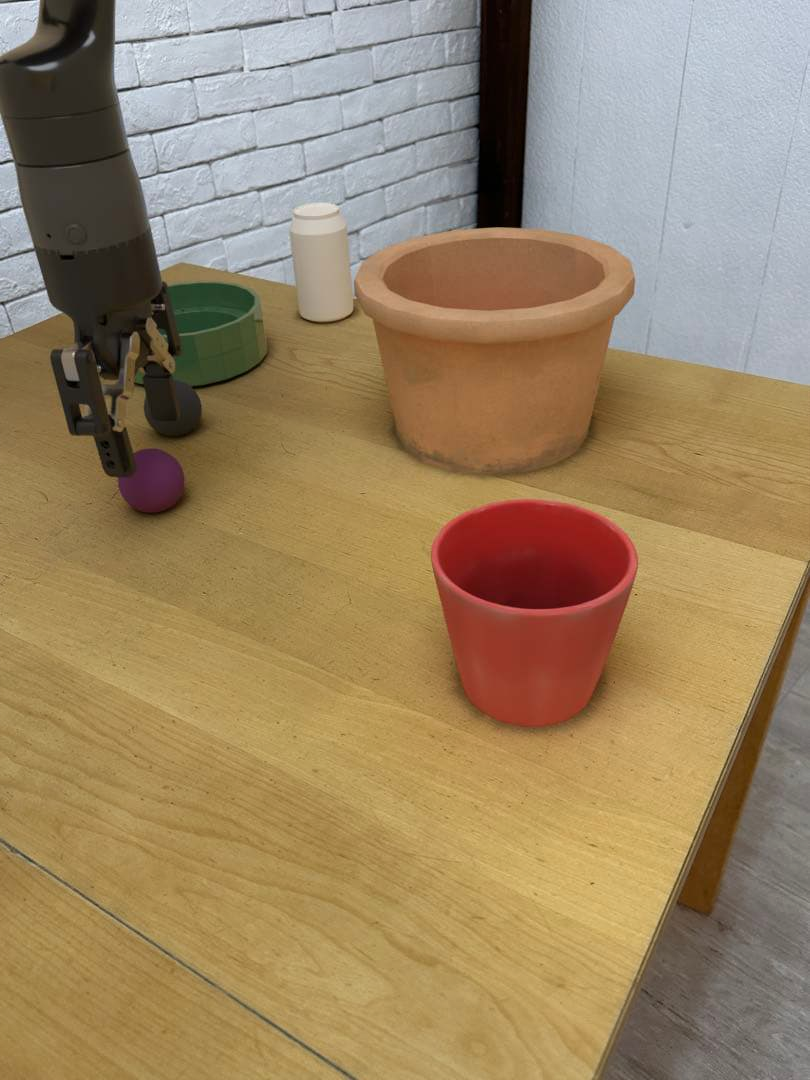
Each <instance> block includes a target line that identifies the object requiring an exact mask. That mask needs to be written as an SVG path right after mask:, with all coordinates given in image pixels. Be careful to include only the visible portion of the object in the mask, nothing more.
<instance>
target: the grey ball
mask: <svg viewBox="0 0 810 1080" xmlns="http://www.w3.org/2000/svg"><path fill="white" fill-rule="evenodd" d="M173 381H174V385H175V390H176V394H177V399H178V403H179V408H180V416H179V417H178V418H177V419H176V420H175V421H157V420H154V419H153V418H152V416H151V413H150V409H149V405H148V401H147V397H146V396H145V398H144V400H143V401H144V402H143V413H144V417H145V419H146V421H147V423H148V425H149V426H150V427H151V428H152V429H153V430H154V431H155V432H157V433H159V434H160V435H163V436H166V437H171V438H172V437H173V438H174V437H182V436H184V435H187V434H189V433H190V432H192V431H193V430H194V429H195V428H196V427H197V425H198V424H199V422H200V420H201V417H202V413H203V406H202V401H201V398H200V396H199V394H198V393H197V391H196V390H195V388H193V386H189V385H188V384H186V383H184V382H182V381H178V380H173Z"/></svg>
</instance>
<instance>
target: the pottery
mask: <svg viewBox="0 0 810 1080" xmlns="http://www.w3.org/2000/svg"><path fill="white" fill-rule="evenodd" d="M635 286H636V278H635V272H634V269H633V266H632V262H631V259H629V258H628V257H627V256H625V255H624V254H622V253H621V252H620V251H618V250H617V249H615V248H614V247H612V246H611V245H608V244H606V243H604V242H603V243H602V242H600V241H597V240H594V239H590V238H588V237H585V236H581V235H578V234H574V233H567V232H561V231H554V230H547V229H541V228H522V227H497V226H495V227H483V228H482V227H481V228H480V227H479V228H468V229H466V228H465V229H454V230H448V231H443V232H438V233H432V234H426V235H421V236H416V237H413V238H410V239H407V240H404V241H402V242H401V241H400V242H398V243H395V244H392V245H390V246H386V247H384V248H382V249H381V250H378V252H376V253H374V254H373V255H371V256H369V257H368V258H366V259H365V260H363V261H362V262H361V264H360V266H359V267H358V271H357V273H356V275H355V277H354V279H353V290H354V296H355V298H356V300H357V303H358V304H359V305H360V308H361V309H362V311H363V313H364V315H365V316H367V317H369V318H370V319H372V323H373V326H374V332H375V336H376V341H377V346H378V349H379V356H380V360H381V365H382V369H383V374H384V377H385V383H386V387H387V392H388V393H387V394H388V397H389V402H390V406H391V412H392V416H393V421H394V425H395V434H396V436H397V437H398V439H399V442H400V444H401V445H402V446H401V447H402V448H403V449H404V450H405V451H407V452H408V453H410V454H411V455H413V456H414V457H415V458H417V459H418V460H419V461H421V462H422V463H425V464H428V465H431V466H434V467H437V468H440V469H444V470H446V471H449V472H452V473H462V474H468V475H469V474H471V475H478V476H479V475H480V476H487V477H489V476H501V475H514V474H516V475H517V474H525V473H528V472H529V473H530V472H532V471H536V470H539V469H543V468H547V467H550V466H555V465H556V464H558V463H560V462H561V461H563V460H564V459H567V458H568V457H570V456H572V455H573V454H575V453H576V452H578V451H579V449H580V448H581V446H582V445H583V443H584V442H585V440H586V439H587V437H589V428H590V424H591V420H592V416H593V411H594V407H595V403H596V399H597V395H598V390H599V386H600V382H601V378H602V374H603V370H604V369H603V368H604V365H605V361H606V356H607V352H608V348H609V343H610V341H611V340H610V339H611V335H612V331H613V327H614V323H615V319H616V316H618V315H620V313H621V312H622V311H623V310H624V308H625V307H626V305H627V304H628V303H629V302H630V300H631V299H632V298H633V296H634V294H635Z"/></svg>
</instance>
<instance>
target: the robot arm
mask: <svg viewBox="0 0 810 1080" xmlns="http://www.w3.org/2000/svg"><path fill="white" fill-rule="evenodd" d="M7 1H10V0H0V2H7ZM116 2H117V0H39V5H38V17H37V18H38V19H37V23H36V24H37V25H36V29H35V33H34V34H33V36H31V38H30V39H28V40H27V41H26V42H24V43H22V44H20V45H18V46H16V47H14V48H12V49H10V50H8V51H6V52H4V53H3V54H1V55H0V118H1V122H2V126H3V130H4V133H5V137H6V139H7V144H8V147H9V150H10V154H11V157H12V160H13V165H14V169H15V172H16V178H17V179H16V180H17V185H18V193H19V199H20V203H21V207H22V211H23V213H24V214H23V215H24V217H25V221H26V225H27V228H28V232H29V235H30V239H31V241H32V245H33V248H34V252H35V256H36V259H37V262H38V267H39V270H40V274H41V276H42V280H43V284H44V287H45V290H46V294H47V297H48V300H49V302H50V304H51V306H52V307H53V308H55V309H56V310H57V311H59V312H62V313H63V314H65V315H66V316H67V317H68V318H70V319H71V321H72V323H73V330H74V332H73V333H74V344H73V345H72V346H70V347H69V348H54V349H52V350H51V352H50V354H49V356H50V357H49V359H50V360H49V361H50V363H51V368H52V372H53V375H54V380H55V383H56V387H57V390H58V394H59V398H60V402H61V407H62V410H63V414H64V417H65V421H66V425H67V429H68V433H69V434H70V435H71V436H72V437H73V436H74V437H75V436H77V437H83V436H84V437H92V438H93V439H94V443H95V446H96V449H97V453H98V456H99V459H100V460H99V461H100V465H101V467H102V470H103V471H104V474H105V475H106V476H108V477H110V478H118V477H127V478H129V477H131V476H132V475H133V474H134V473H135V472H136V470H137V466H136V463H135V459H134V455H133V453H134V451H133V447H132V444H131V441H130V440H131V439H130V436H129V432H128V428H127V426H125V419H126V405H127V401H129V400H131V398H132V397H133V395H134V388H135V387H134V386H135V385H134V384H135V382H134V377H135V375H136V373H137V371H138V369H139V370H140V371H141V372H142V373H147V374H145V375H144V376H143V377H142V380H143V384H142V385H143V388H144V392H145V397H147V401H148V405H149V409H150V413H151V416H152V418H153V419H154V420H157V421H175V420H176V419H177V418H178V417H179V416H180V408H179V403H178V399H177V394H176V390H175V385H174V381H173V376H172V374H171V373H174V371H175V361H174V359H173V358H174V356H180V355H181V353H182V344H181V340H180V336H179V332H178V327H177V323H176V319H175V315H174V311H173V307H172V302H171V298H170V294H169V290H168V286H167V285H168V284H167V282H166V281H163V277H162V274H161V270H160V265H159V259H158V255H157V250H156V245H155V242H154V236H153V232H152V227H151V223H150V217H149V213H148V208H147V205H146V199H145V195H144V194H145V193H144V190H143V185H142V183H141V179H140V176H139V173H138V171H137V168H136V164H135V162H134V159H133V155H132V153H131V148H130V147H129V146H130V144H129V139H128V134H127V129H126V125H125V121H124V116H123V112H122V107H121V101H120V98H119V92H118V89H117V85H116V79H115V53H116V6H117V5H116V4H117V3H116ZM157 329H163V330H165V332H166V335H167V339H168V340H165V339H164V338H163V337H162V335H161V334H160V333H159V331H158V330H157ZM101 379H103V380H104V381H116V382H115V383H113V384H102V382H101ZM106 399H110V409H109V410H110V412H108V407H107V402H106ZM80 405H83V415H82V411H81V407H80Z"/></svg>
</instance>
